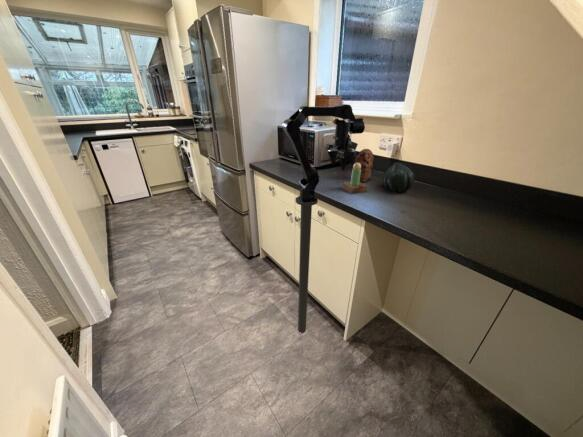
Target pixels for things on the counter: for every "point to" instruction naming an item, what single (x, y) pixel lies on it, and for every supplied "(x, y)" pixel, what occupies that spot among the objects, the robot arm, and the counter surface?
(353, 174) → the peg doll
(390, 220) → the counter surface
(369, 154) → the wooden figurine
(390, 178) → the squash
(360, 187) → the walnut block
